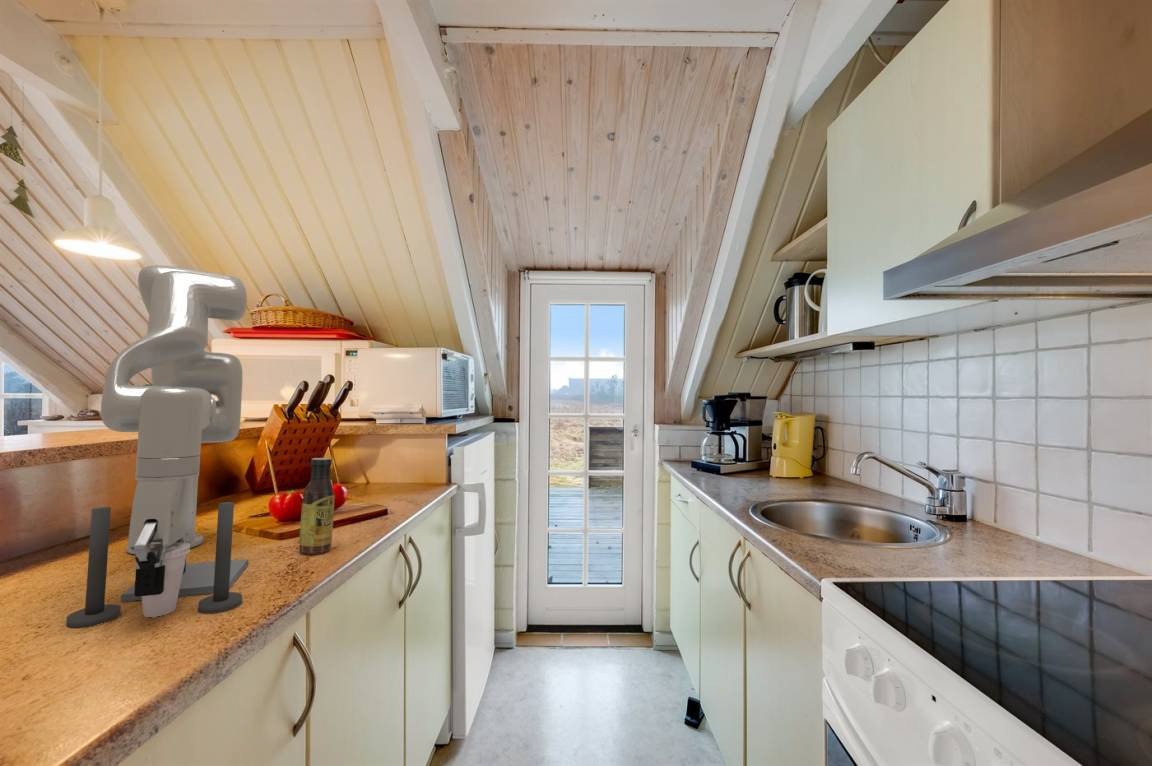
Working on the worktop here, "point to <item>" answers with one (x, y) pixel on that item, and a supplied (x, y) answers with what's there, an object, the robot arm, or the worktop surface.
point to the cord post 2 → (222, 566)
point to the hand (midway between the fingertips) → (161, 583)
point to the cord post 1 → (96, 576)
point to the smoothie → (168, 581)
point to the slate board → (197, 579)
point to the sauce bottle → (317, 509)
